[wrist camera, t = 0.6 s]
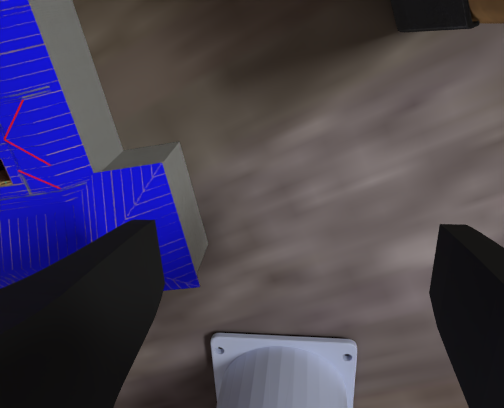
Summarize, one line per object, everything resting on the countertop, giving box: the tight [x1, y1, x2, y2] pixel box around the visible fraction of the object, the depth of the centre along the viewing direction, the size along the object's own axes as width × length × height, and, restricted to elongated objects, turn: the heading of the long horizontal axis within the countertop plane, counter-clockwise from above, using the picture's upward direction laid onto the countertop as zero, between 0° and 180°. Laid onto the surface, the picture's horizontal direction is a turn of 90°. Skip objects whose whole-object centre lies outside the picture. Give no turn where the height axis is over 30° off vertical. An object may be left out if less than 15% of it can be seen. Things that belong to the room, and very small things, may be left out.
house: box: [0, 0, 208, 291], centre depth 20 cm, size 11×15×5 cm
